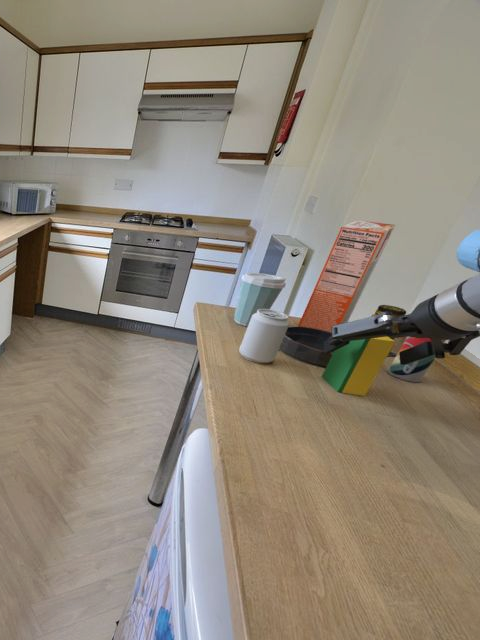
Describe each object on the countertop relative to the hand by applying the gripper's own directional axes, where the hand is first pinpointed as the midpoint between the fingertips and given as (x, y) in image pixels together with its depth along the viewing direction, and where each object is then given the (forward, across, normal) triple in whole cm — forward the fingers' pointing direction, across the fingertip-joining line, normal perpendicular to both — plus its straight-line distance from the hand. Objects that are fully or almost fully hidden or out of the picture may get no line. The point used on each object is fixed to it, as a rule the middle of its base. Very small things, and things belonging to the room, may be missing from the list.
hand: (363, 353), depth 86 cm
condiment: (+25, +19, +13) cm, 34 cm away
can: (+13, -15, 0) cm, 20 cm away
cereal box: (+32, +11, +20) cm, 39 cm away
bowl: (+19, +2, +6) cm, 20 cm away
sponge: (+7, 0, -6) cm, 9 cm away
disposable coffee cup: (+31, -9, +18) cm, 37 cm away
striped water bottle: (+14, +17, +2) cm, 22 cm away
